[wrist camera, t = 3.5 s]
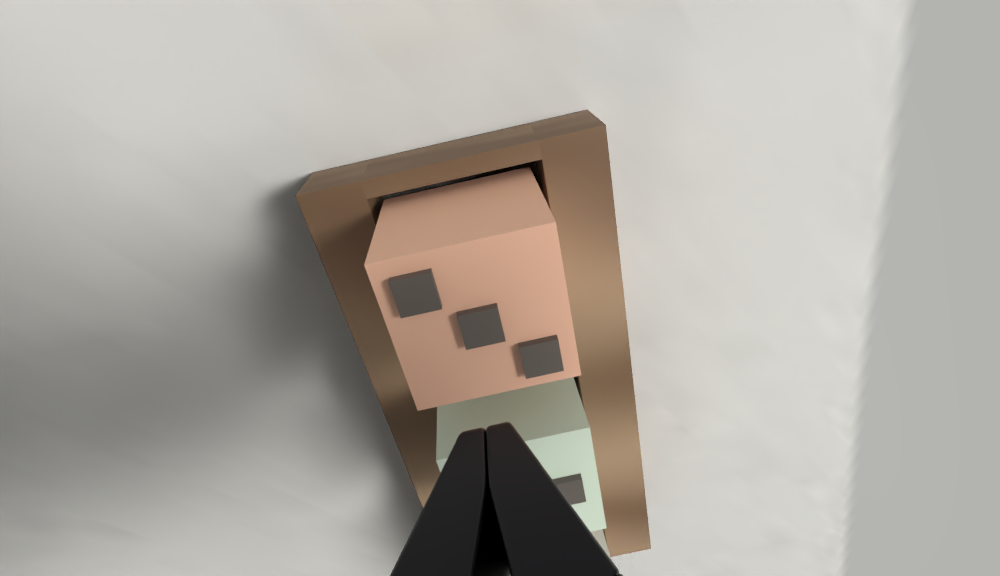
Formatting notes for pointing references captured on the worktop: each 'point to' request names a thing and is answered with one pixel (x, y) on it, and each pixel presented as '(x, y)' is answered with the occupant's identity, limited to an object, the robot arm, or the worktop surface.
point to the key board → (588, 272)
